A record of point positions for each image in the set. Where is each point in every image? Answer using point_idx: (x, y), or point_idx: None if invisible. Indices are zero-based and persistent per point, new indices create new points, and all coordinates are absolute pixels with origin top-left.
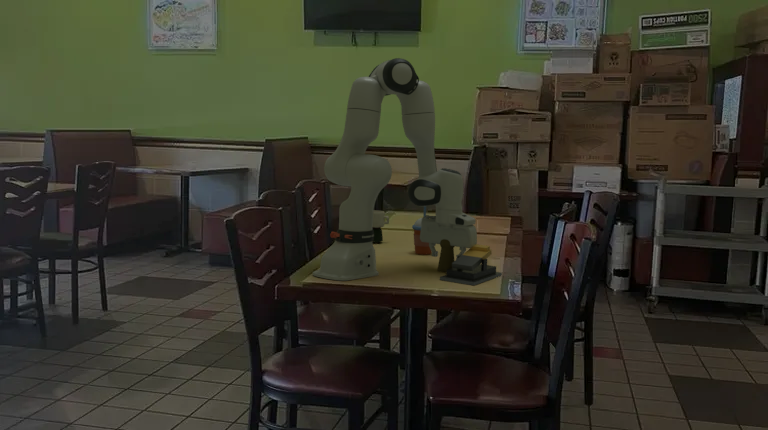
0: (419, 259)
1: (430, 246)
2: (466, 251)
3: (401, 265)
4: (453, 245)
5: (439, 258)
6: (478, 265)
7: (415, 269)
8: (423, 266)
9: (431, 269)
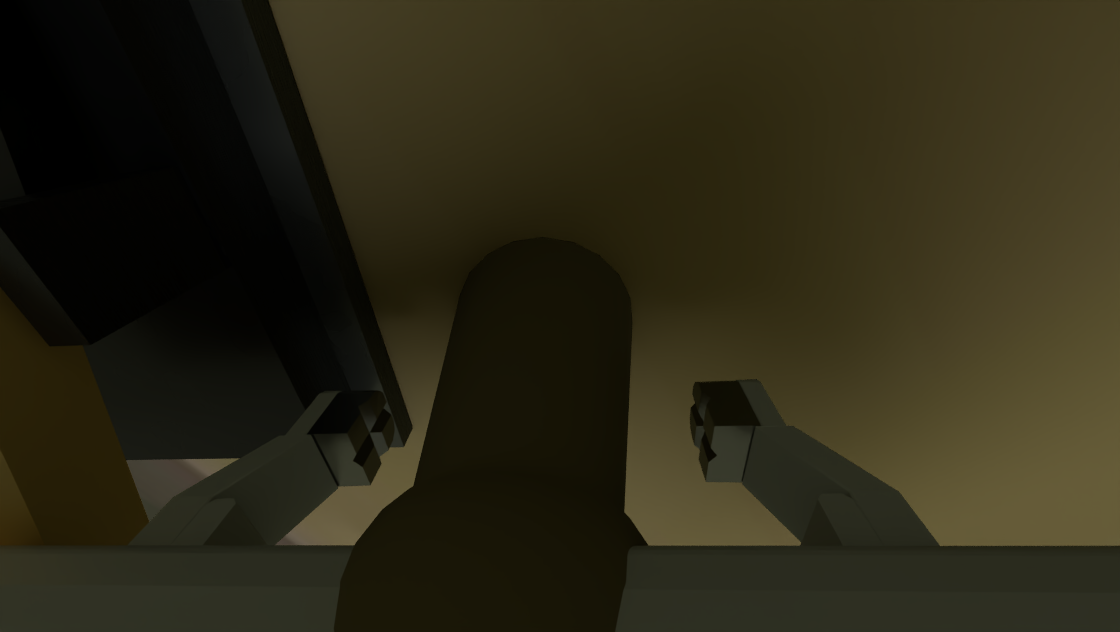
0: (946, 514)
1: (859, 487)
2: (2, 451)
3: (1095, 200)
4: (274, 553)
5: (614, 354)
6: (157, 398)
7: (851, 115)
8: (820, 324)
9: (684, 258)
